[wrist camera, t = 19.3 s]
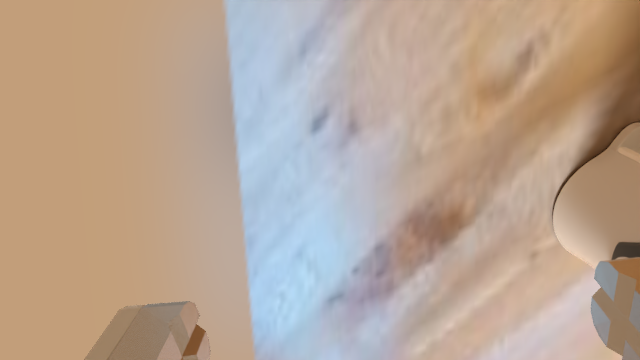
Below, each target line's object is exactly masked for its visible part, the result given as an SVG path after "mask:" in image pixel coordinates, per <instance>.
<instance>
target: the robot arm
mask: <svg viewBox="0 0 640 360" xmlns="http://www.w3.org/2000/svg"><path fill="white" fill-rule="evenodd" d="M553 226H554V231H555V234H556V236H557V238H558V240H559V242H560V243H561V245H562V246H563V247H564V248H565V249H566V250H567V251H568V252H570V253H571V254H573V255H574V256H576V257H578V258H579V259H581V260H583V261H584V262H586V263H587V264H589V265H590V266H591V267H593V268H594V269H595V277H594V279H595V280H596V281H597V282H598V284H599V285H600V286H601V288H600V289H599V290H598V291H597V292H596V293H595V294H594V295H593V296H592V302H591V314H592V318H593V323H594V326H595V328H596V330H597V332H598V335H599V336H600V338H601V339H602V341H603V342H604V344H605V345H606V347H608V348H610V349H611V350H613V351H615V352H617V353H618V354H620V355H622V356H623V358H622V360H640V122H637V123H632V124H630V125H628V126H627V127H626V128H624V129H623V130H622V131H621V132H620V134H619V135H618V136H617V137H616V138H615V140H614V141H613V142H612V143H611V145H610V146H609V147H608V148H607V149H606V150H605V151H604V152H602V153H601V154H600V155H598V156H596V157H595V158H593V159H592V160H590V161H589V162H587V163H586V164H585V165H583V166H582V167H581V168H580V169H579V170H578V171H577V172H575V174H574V175H573V176H572V177H571V178H570V179H569V180H568V181H567V183H566V184H565V185H564V187H563V189H562V190H561V192H560V194H559V196H558V198H557V201H556V203H555V207H554V212H553ZM199 316H200V315H199V313H198V310H197V308H196V305H195V304H194V303H192V302H190V301H186V302H172V303H159V304H147V305H137V306H126V307H124V308H122V309H120V310H119V311H118V312H117V314H116V315H115V317H114V318H113V319H112V321H111V322H110V324H109V325H108V327H107V328H106V329H105V331H104V332H103V334H102V335H101V336H100V338H99V339H98V341H97V342H96V344H95V345H94V346H93V348H92V349H91V351H90V352H89V353H88V355H87V356H86V358H85V359H84V360H210V345H209V339H208V336H207V333H206V331H205V330H204V329H202V328H201V327H200V326H198V325H197V324H196V323H197V321H198V319H199Z"/></svg>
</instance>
